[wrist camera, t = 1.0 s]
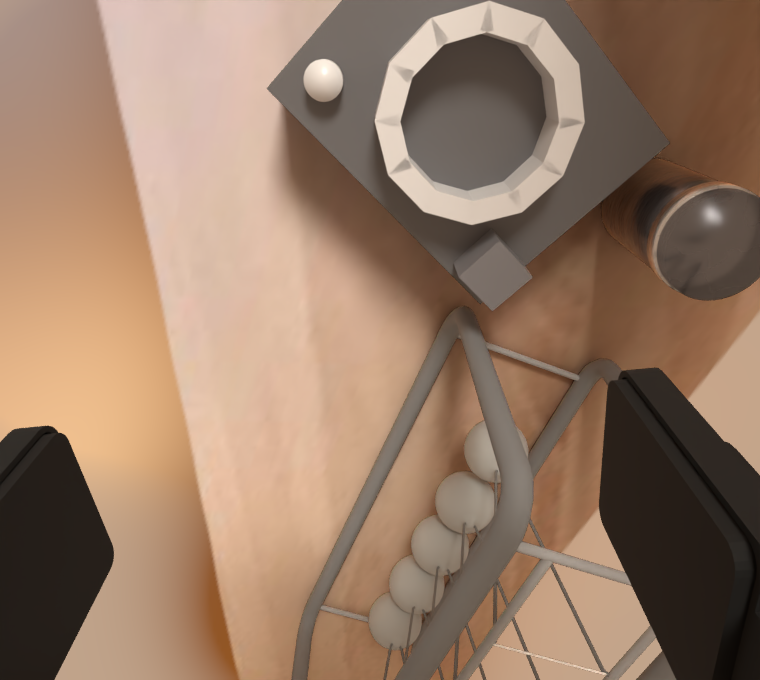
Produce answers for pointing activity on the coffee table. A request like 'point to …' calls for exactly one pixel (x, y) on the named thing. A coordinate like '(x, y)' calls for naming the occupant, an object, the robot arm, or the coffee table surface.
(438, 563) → the newton's cradle
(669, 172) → the lens
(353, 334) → the coffee table surface
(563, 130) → the camera body
